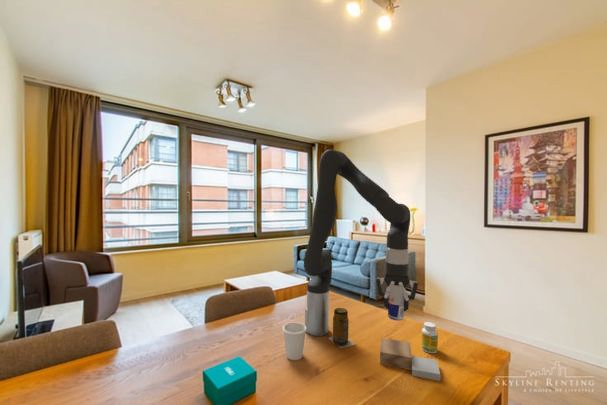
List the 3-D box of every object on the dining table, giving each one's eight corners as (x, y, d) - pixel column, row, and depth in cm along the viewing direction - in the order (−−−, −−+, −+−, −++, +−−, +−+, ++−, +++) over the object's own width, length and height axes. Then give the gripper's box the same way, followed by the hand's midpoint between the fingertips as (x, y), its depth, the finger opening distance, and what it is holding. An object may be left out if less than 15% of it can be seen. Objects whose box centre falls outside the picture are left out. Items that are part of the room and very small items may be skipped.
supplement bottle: (426, 344, 105) (427, 319, 105) (440, 351, 101) (441, 325, 101) (418, 348, 102) (419, 323, 102) (432, 355, 98) (432, 329, 98)
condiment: (343, 334, 112) (343, 305, 112) (355, 344, 105) (356, 313, 104) (327, 338, 109) (328, 308, 109) (339, 349, 101) (339, 317, 101)
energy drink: (385, 314, 98) (386, 281, 98) (399, 314, 98) (400, 281, 98) (391, 321, 93) (392, 286, 92) (406, 320, 93) (407, 285, 93)
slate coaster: (412, 375, 87) (412, 369, 87) (410, 361, 94) (410, 355, 94) (440, 381, 84) (440, 374, 84) (436, 365, 92) (436, 360, 92)
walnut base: (380, 363, 93) (380, 352, 92) (381, 348, 102) (381, 337, 102) (411, 369, 89) (411, 357, 89) (409, 353, 99) (410, 342, 99)
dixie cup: (278, 359, 94) (278, 330, 94) (288, 347, 102) (288, 320, 102) (301, 364, 92) (301, 335, 91) (309, 351, 99) (309, 324, 99)
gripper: (374, 261, 94) (374, 310, 94) (420, 265, 89) (419, 316, 90) (376, 257, 101) (375, 302, 101) (418, 260, 97) (417, 308, 97)
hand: (396, 309), depth 96 cm, fingers closed on energy drink, 5 cm apart
